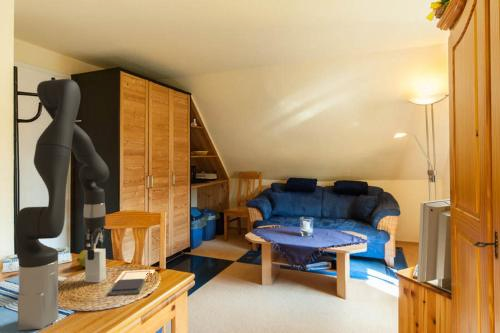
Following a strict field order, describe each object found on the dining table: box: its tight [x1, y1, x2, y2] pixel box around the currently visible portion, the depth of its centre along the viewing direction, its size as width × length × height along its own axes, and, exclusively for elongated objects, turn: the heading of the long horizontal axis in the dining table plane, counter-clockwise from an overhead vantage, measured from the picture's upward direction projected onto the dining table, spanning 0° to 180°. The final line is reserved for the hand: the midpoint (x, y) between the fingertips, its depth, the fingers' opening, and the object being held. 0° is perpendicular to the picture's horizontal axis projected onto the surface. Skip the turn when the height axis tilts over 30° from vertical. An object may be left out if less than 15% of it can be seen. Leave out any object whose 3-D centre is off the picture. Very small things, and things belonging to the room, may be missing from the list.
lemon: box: [76, 247, 96, 268], centre depth 129 cm, size 11×8×8 cm
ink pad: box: [108, 279, 146, 296], centre depth 107 cm, size 10×10×2 cm
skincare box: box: [84, 248, 107, 283], centre depth 114 cm, size 6×4×12 cm
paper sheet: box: [113, 269, 156, 284], centre depth 118 cm, size 12×13×1 cm
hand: (95, 256), depth 114 cm, fingers open, 8 cm apart
